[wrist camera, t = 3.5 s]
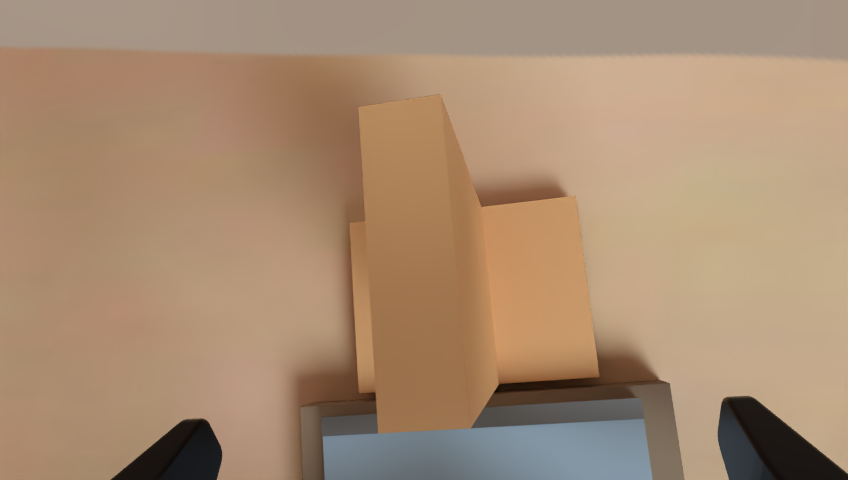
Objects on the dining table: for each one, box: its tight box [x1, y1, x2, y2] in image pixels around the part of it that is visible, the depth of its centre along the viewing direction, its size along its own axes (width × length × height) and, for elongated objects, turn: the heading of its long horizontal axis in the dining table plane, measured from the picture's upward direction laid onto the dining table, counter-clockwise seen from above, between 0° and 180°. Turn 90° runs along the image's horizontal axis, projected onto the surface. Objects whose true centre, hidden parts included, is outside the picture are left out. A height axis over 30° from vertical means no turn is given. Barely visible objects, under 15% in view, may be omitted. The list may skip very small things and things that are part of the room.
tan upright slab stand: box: [349, 94, 600, 434], centre depth 15 cm, size 6×8×10 cm
